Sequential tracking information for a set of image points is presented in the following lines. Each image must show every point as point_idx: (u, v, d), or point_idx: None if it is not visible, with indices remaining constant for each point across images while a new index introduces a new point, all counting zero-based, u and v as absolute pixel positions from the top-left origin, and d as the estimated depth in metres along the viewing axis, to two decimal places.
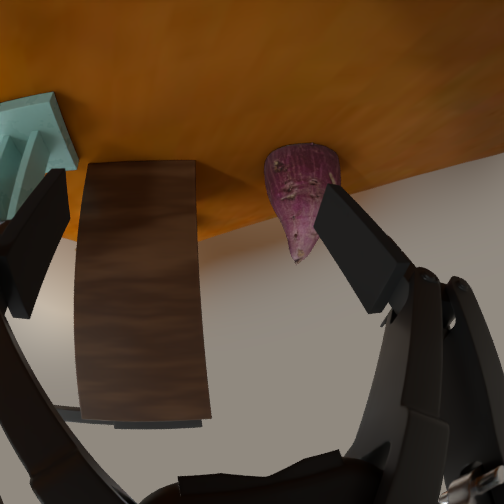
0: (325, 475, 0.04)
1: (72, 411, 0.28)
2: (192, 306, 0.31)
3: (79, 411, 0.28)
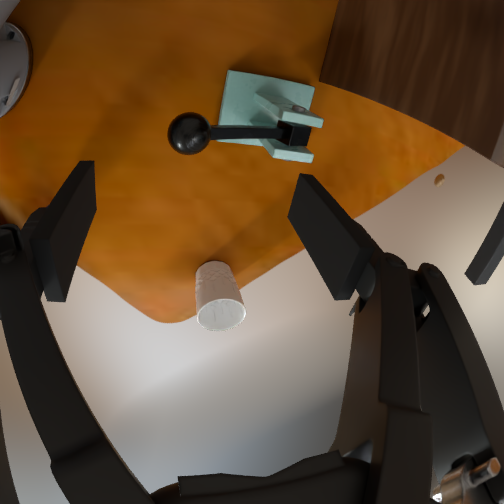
0: (325, 475, 0.04)
1: (502, 206, 0.18)
2: None
3: None
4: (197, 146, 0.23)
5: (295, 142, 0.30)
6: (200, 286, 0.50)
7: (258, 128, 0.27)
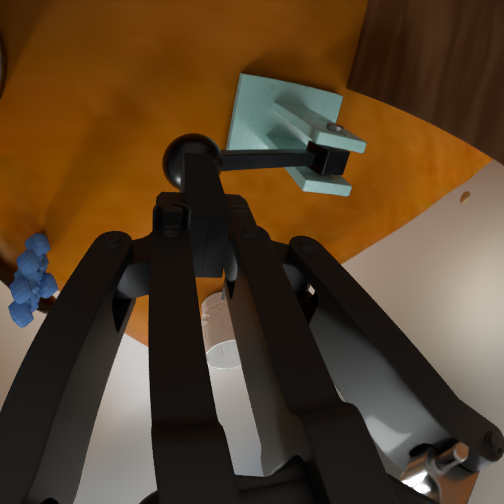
0: None
1: None
2: None
3: None
4: None
5: (330, 171, 0.23)
6: (207, 322, 0.44)
7: (285, 153, 0.21)
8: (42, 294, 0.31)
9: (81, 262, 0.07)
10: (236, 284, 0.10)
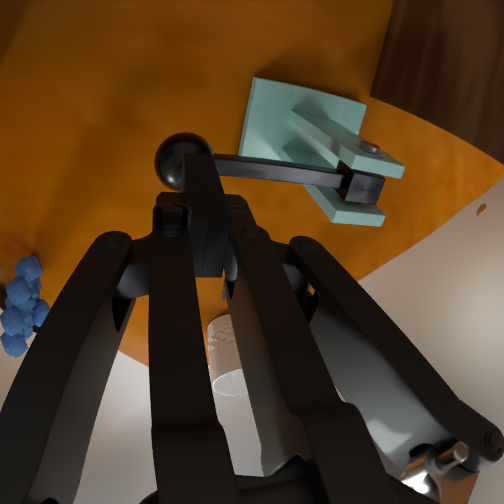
0: None
1: None
2: None
3: None
4: None
5: (356, 197, 0.20)
6: (214, 348, 0.40)
7: (296, 167, 0.19)
8: (35, 323, 0.28)
9: (81, 262, 0.07)
10: (236, 284, 0.10)
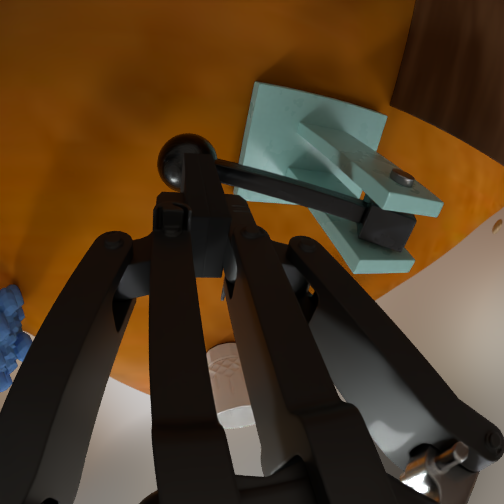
0: None
1: None
2: None
3: None
4: (171, 180, 0.16)
5: (374, 236, 0.16)
6: (212, 381, 0.36)
7: (302, 187, 0.16)
8: None
9: (81, 262, 0.07)
10: (236, 284, 0.10)
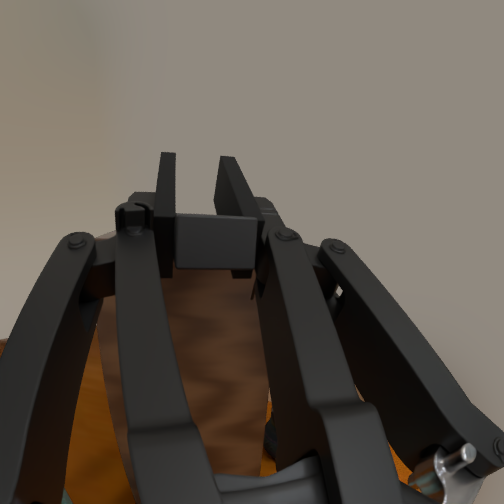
0: (325, 475, 0.04)
1: None
2: None
3: None
4: None
5: None
6: None
7: None
8: None
9: (47, 265, 0.07)
10: None
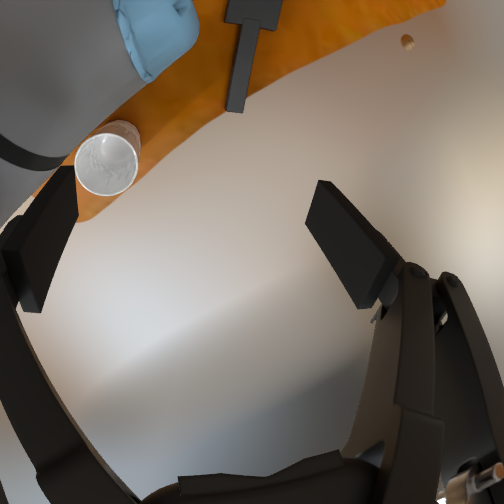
0: (325, 475, 0.04)
1: None
2: None
3: (234, 56, 0.36)
4: None
5: None
6: None
7: None
8: None
9: None
10: None
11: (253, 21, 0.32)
